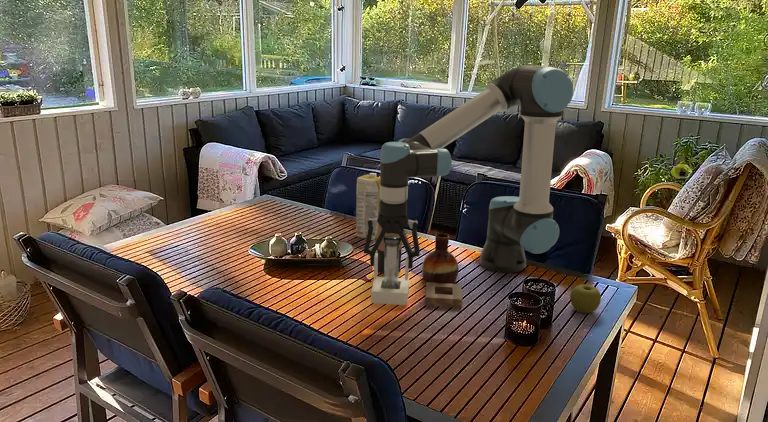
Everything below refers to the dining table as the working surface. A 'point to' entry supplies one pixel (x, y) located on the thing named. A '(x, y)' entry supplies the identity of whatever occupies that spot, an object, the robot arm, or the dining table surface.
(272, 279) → the dining table surface
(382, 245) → the travel mug
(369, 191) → the juice carton
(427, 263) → the vase
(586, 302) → the apple
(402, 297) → the socket
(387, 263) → the pin
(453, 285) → the mount
